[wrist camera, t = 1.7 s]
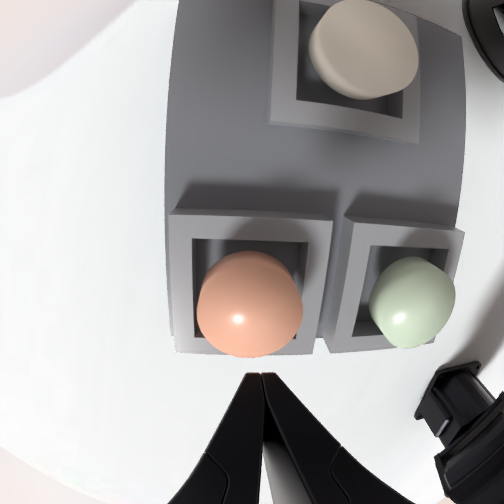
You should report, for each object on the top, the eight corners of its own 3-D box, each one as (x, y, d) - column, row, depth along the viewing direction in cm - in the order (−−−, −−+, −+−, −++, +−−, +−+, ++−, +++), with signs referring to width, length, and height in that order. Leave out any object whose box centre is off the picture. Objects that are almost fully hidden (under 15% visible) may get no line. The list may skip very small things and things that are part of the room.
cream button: (395, 28, 10) (415, 16, 8) (397, 108, 11) (419, 104, 9) (309, 6, 10) (319, -11, 8) (306, 91, 11) (318, 82, 9)
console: (435, 46, 14) (475, 31, 10) (407, 308, 20) (439, 341, 16) (189, 3, 13) (178, -35, 9) (179, 309, 19) (166, 351, 15)
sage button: (444, 257, 14) (464, 269, 12) (424, 327, 15) (440, 343, 13) (378, 255, 13) (396, 269, 12) (361, 332, 15) (374, 352, 13)
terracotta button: (299, 252, 13) (309, 267, 11) (289, 334, 14) (296, 357, 13) (200, 249, 13) (195, 264, 11) (201, 333, 14) (198, 356, 12)
